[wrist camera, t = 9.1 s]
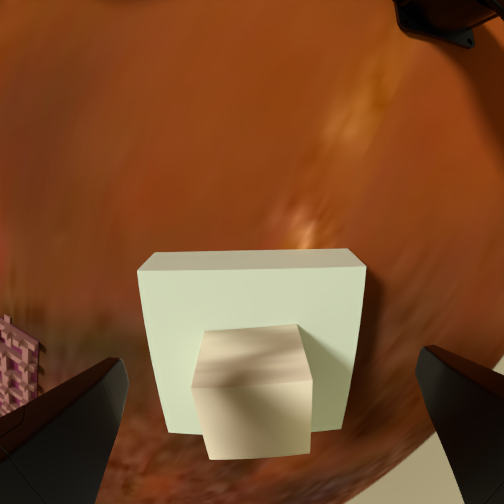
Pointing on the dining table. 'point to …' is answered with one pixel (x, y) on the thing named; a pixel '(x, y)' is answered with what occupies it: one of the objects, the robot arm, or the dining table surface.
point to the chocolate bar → (16, 367)
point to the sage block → (252, 317)
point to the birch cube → (253, 393)
